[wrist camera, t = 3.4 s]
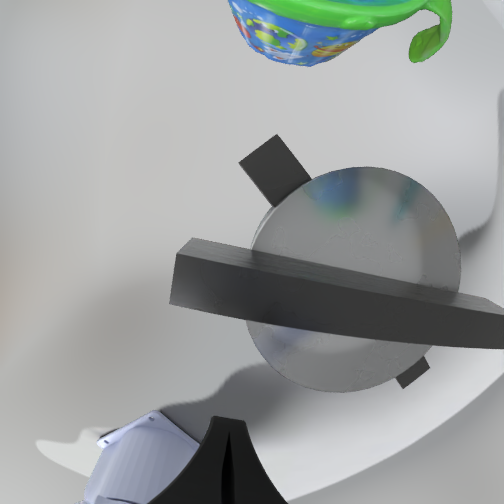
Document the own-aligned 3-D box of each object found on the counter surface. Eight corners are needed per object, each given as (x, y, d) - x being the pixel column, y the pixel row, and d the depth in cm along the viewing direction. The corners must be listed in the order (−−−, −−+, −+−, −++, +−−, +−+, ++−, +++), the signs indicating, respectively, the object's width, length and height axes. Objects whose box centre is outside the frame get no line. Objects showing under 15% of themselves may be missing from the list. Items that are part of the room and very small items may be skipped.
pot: (451, 305, 21) (479, 324, 17) (334, 396, 22) (346, 429, 18) (329, 102, 18) (348, 84, 14) (180, 215, 19) (163, 223, 15)
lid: (498, 216, 15) (543, 226, 11) (437, 388, 18) (465, 421, 13) (217, 128, 14) (205, 107, 10) (176, 360, 17) (159, 406, 12)
